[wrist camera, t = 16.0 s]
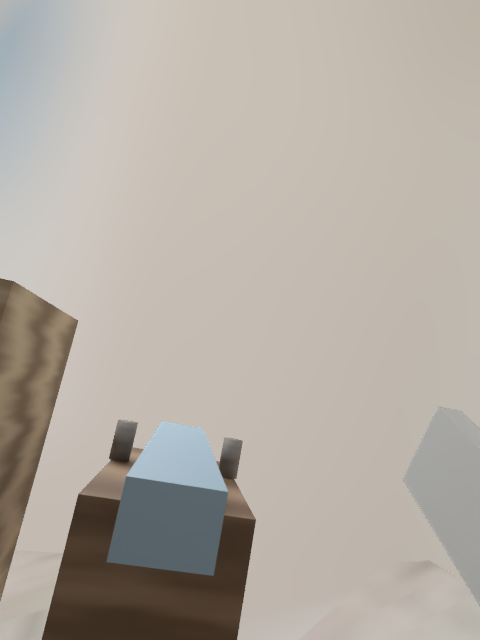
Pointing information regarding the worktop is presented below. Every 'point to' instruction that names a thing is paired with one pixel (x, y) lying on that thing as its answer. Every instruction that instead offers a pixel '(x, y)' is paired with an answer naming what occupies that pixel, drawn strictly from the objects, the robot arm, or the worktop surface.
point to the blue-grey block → (171, 505)
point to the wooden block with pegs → (143, 582)
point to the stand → (26, 399)
